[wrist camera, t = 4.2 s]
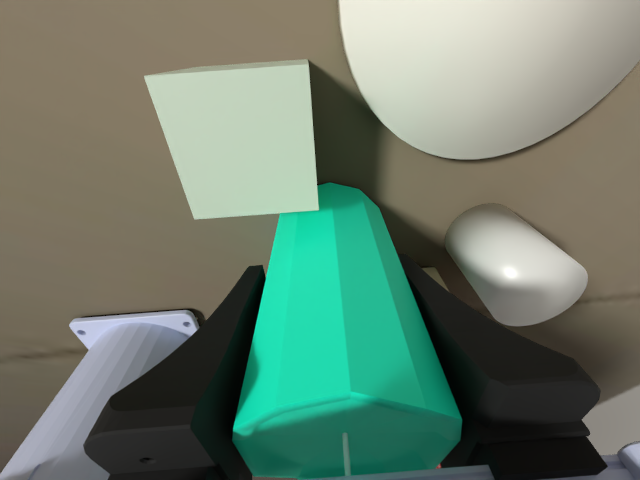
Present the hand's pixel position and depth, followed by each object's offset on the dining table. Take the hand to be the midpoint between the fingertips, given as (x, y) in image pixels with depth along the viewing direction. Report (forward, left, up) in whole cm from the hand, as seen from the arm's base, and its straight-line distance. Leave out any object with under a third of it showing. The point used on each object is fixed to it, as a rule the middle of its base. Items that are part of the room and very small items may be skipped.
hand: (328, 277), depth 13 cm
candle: (0, 0, -4) cm, 4 cm away
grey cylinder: (-1, -9, -4) cm, 10 cm away
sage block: (+6, +2, -4) cm, 8 cm away
